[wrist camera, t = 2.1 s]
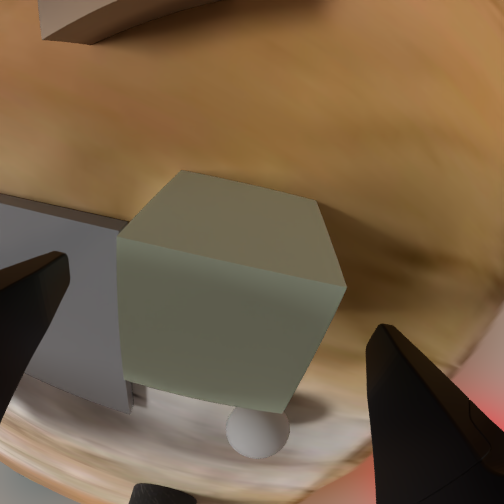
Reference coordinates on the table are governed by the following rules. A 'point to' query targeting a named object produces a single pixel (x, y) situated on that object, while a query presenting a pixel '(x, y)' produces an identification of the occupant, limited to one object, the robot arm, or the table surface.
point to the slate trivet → (73, 298)
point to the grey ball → (257, 432)
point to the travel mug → (159, 495)
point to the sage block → (225, 291)
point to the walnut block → (101, 17)
